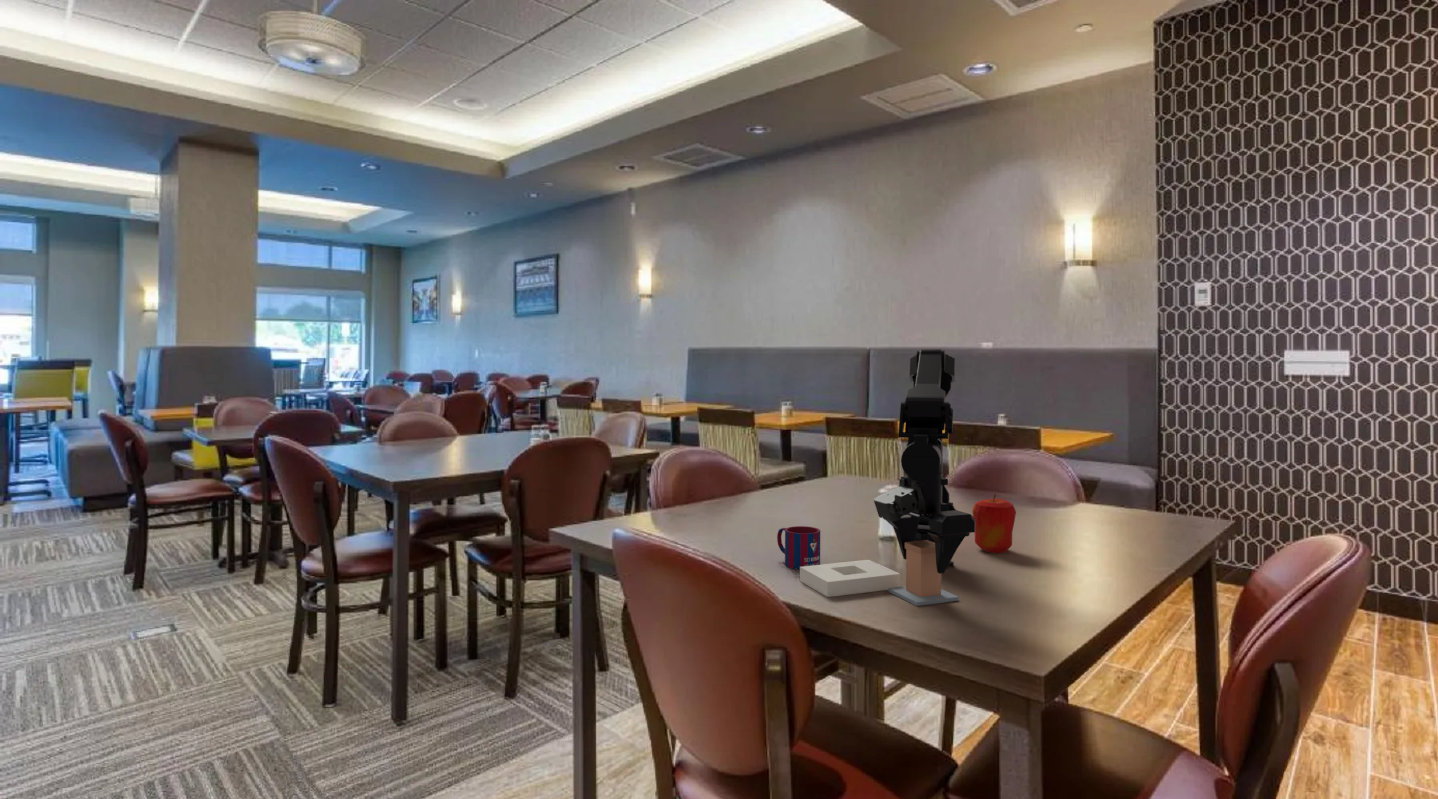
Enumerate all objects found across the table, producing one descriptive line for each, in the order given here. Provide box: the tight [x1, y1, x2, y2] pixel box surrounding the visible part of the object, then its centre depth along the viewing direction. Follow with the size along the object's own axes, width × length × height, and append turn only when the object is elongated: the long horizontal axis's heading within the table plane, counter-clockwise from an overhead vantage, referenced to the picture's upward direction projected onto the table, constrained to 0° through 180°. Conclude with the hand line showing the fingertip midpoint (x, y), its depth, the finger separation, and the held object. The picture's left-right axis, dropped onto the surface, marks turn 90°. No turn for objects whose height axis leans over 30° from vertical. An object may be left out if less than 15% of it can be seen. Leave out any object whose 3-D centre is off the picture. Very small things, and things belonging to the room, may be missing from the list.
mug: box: [776, 525, 821, 570], centre depth 143 cm, size 7×10×7 cm
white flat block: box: [799, 559, 901, 598], centre depth 128 cm, size 14×10×2 cm
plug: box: [905, 540, 942, 597], centre depth 122 cm, size 4×4×8 cm
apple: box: [971, 494, 1017, 554], centre depth 152 cm, size 9×8×12 cm
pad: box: [887, 585, 960, 607], centre depth 122 cm, size 8×8×1 cm
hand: (923, 565), depth 122 cm, fingers open, 9 cm apart
